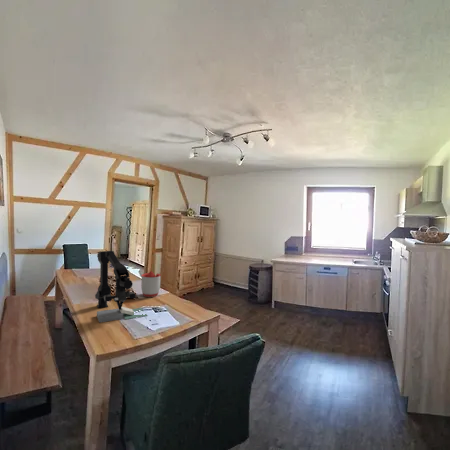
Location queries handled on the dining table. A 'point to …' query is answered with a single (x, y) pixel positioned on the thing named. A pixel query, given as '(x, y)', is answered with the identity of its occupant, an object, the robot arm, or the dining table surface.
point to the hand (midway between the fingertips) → (119, 309)
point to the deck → (109, 315)
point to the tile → (127, 311)
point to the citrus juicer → (150, 284)
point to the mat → (133, 314)
